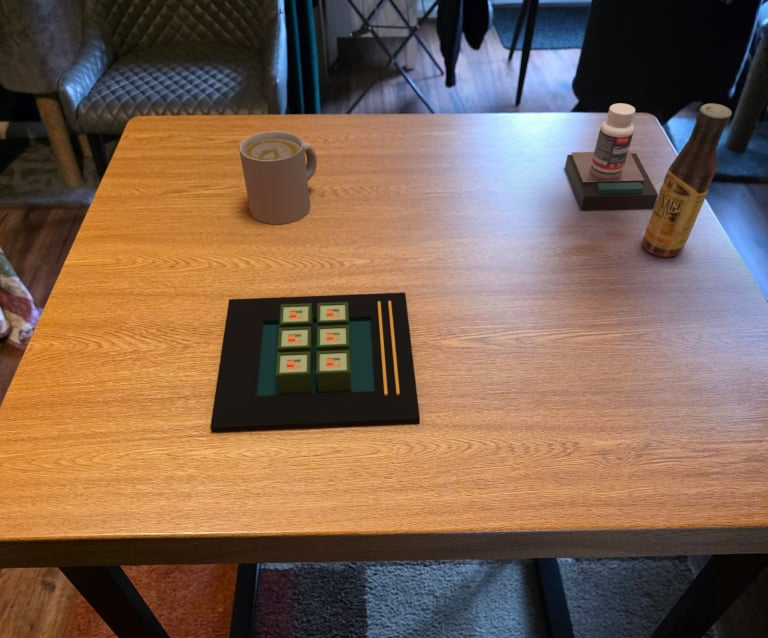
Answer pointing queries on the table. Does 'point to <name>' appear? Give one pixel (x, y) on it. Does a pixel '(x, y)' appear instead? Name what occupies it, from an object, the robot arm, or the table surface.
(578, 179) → the scale
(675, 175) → the sauce bottle
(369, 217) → the table surface
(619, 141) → the pill bottle
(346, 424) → the sushi
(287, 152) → the coffee mug
